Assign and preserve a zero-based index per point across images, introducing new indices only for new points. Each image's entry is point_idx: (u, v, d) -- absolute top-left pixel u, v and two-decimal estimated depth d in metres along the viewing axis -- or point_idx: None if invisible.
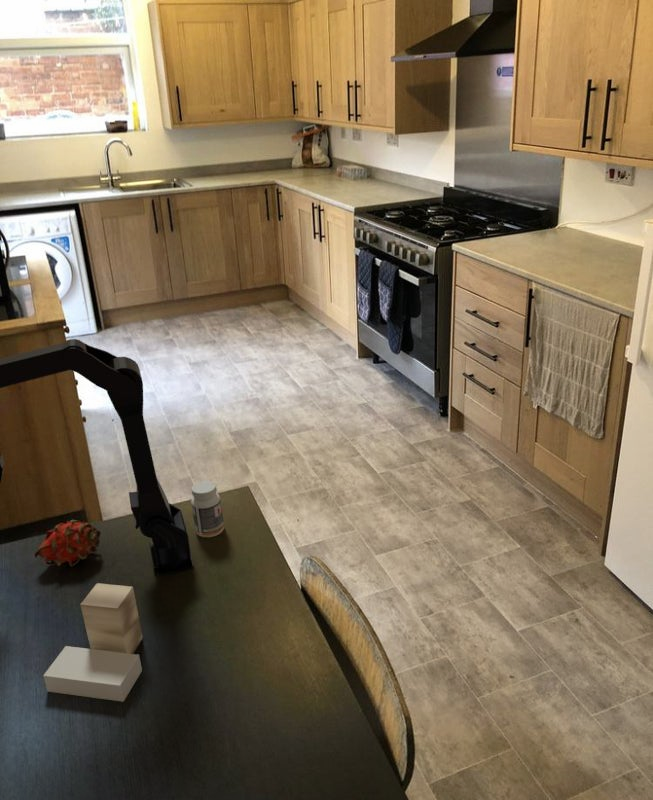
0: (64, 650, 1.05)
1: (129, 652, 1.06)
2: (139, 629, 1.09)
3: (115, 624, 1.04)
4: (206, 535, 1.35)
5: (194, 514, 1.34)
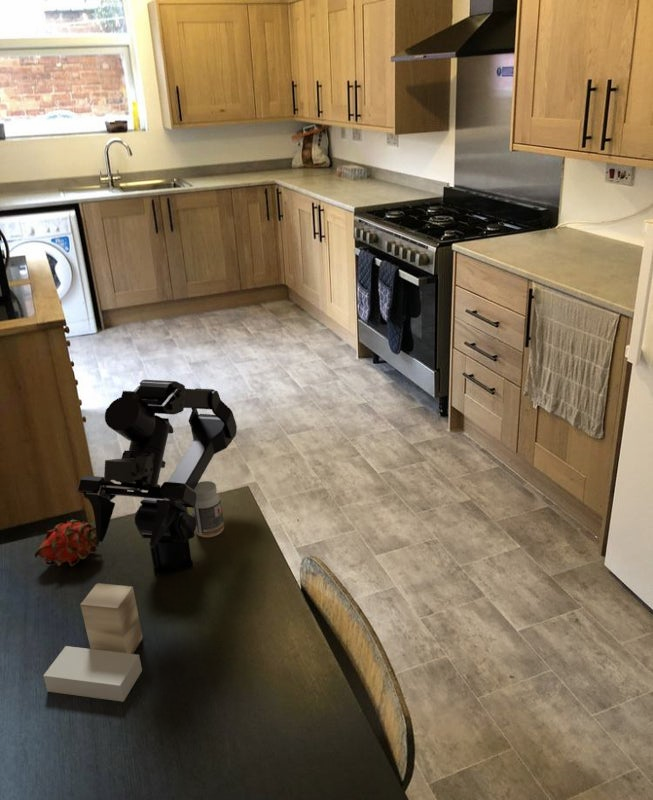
0: (64, 650, 1.05)
1: (129, 652, 1.06)
2: (139, 629, 1.09)
3: (115, 624, 1.04)
4: (206, 535, 1.35)
5: (194, 514, 1.34)
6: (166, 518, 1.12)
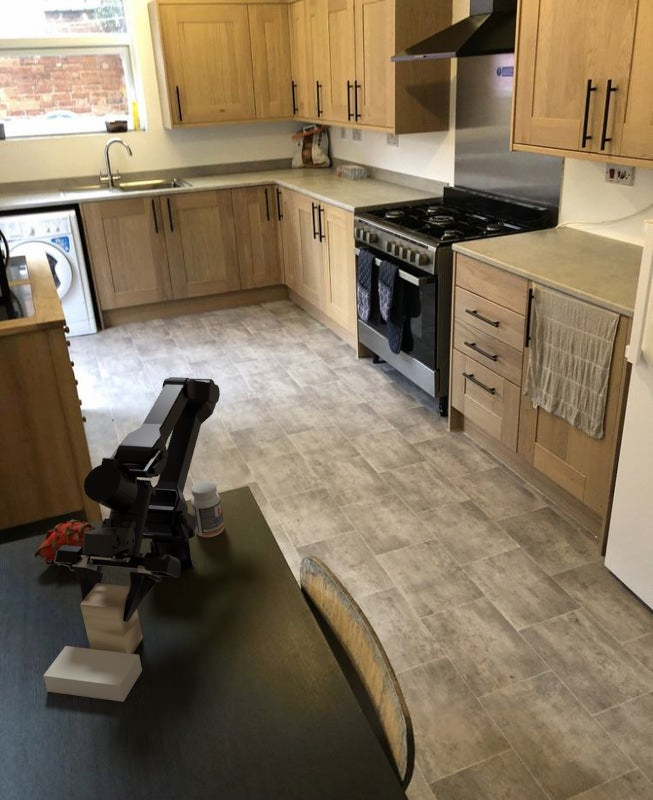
0: (64, 650, 1.05)
1: (129, 652, 1.06)
2: (139, 629, 1.09)
3: (115, 624, 1.04)
4: (206, 535, 1.35)
5: (194, 514, 1.34)
6: (140, 590, 1.06)
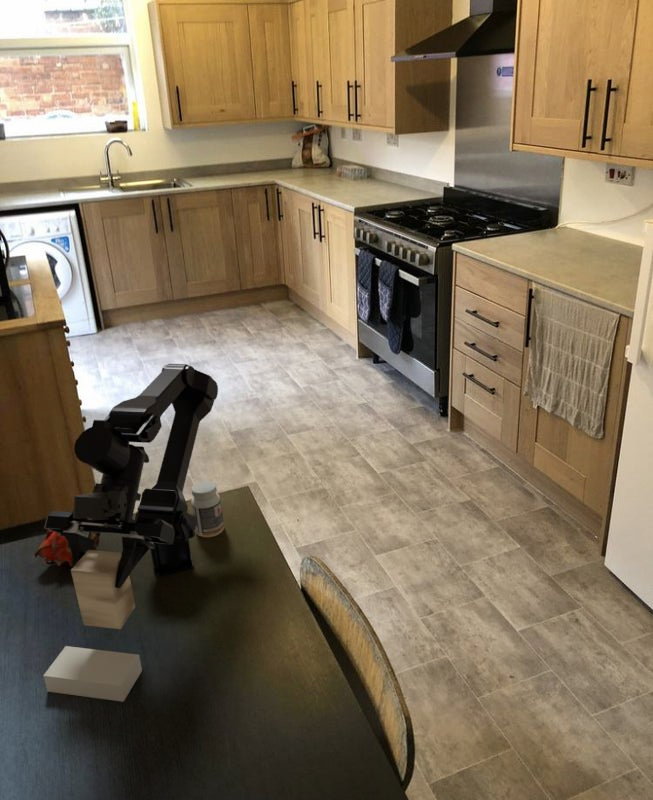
0: (64, 650, 1.05)
1: (121, 620, 1.04)
2: (132, 597, 1.07)
3: (107, 590, 1.01)
4: (206, 535, 1.35)
5: (194, 514, 1.34)
6: (133, 556, 1.04)
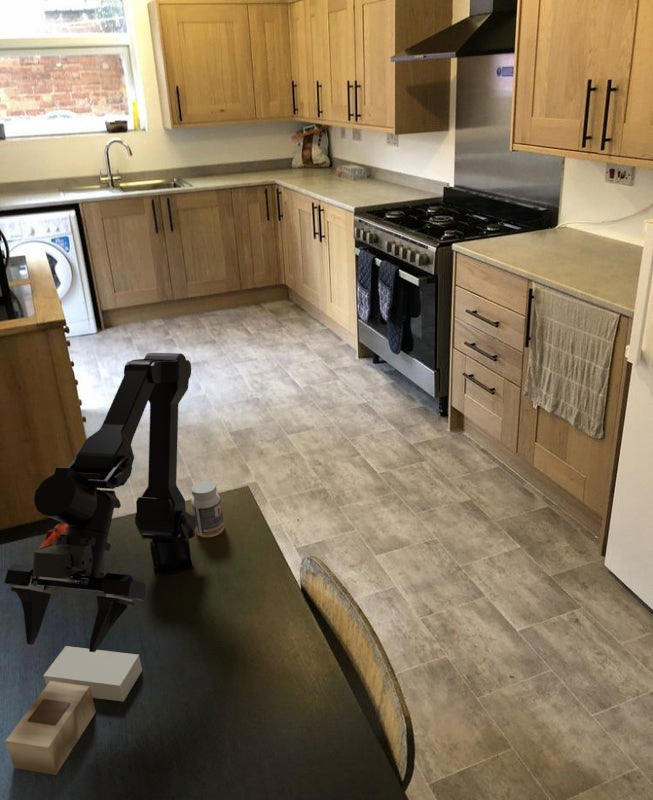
0: (64, 650, 1.05)
1: (91, 714, 0.96)
2: (82, 700, 0.94)
3: None
4: (206, 535, 1.35)
5: (194, 514, 1.34)
6: (109, 616, 0.95)
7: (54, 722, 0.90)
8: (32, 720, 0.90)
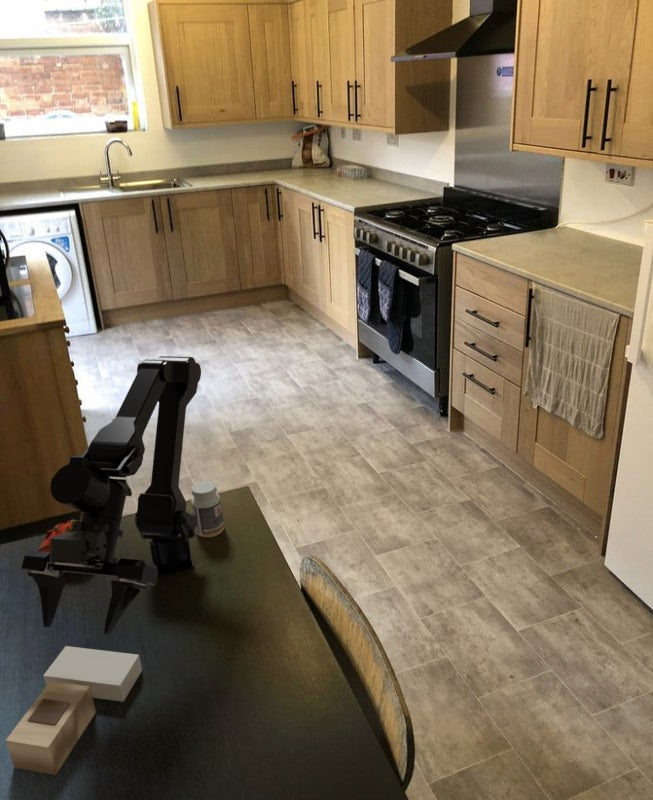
0: (64, 650, 1.05)
1: (91, 715, 0.96)
2: (82, 700, 0.94)
3: None
4: (206, 535, 1.35)
5: (194, 514, 1.34)
6: (123, 599, 0.98)
7: (54, 722, 0.90)
8: (32, 720, 0.90)
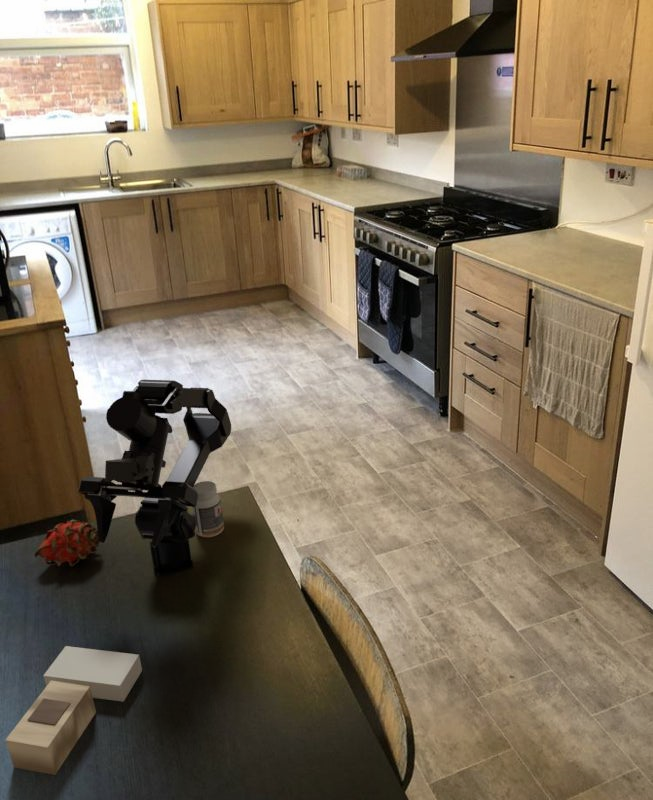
0: (64, 650, 1.05)
1: (91, 715, 0.96)
2: (82, 700, 0.94)
3: None
4: (206, 535, 1.35)
5: (194, 514, 1.34)
6: (168, 517, 1.12)
7: (54, 722, 0.90)
8: (32, 719, 0.91)
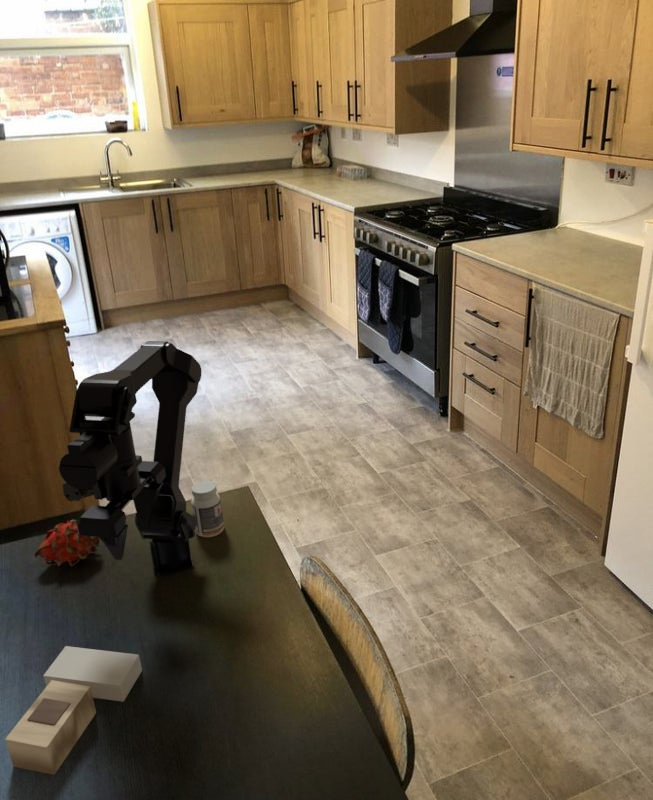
0: (64, 650, 1.05)
1: (91, 715, 0.96)
2: (82, 700, 0.94)
3: None
4: (206, 535, 1.35)
5: (194, 514, 1.34)
6: (113, 538, 1.05)
7: (53, 722, 0.90)
8: (32, 719, 0.91)
